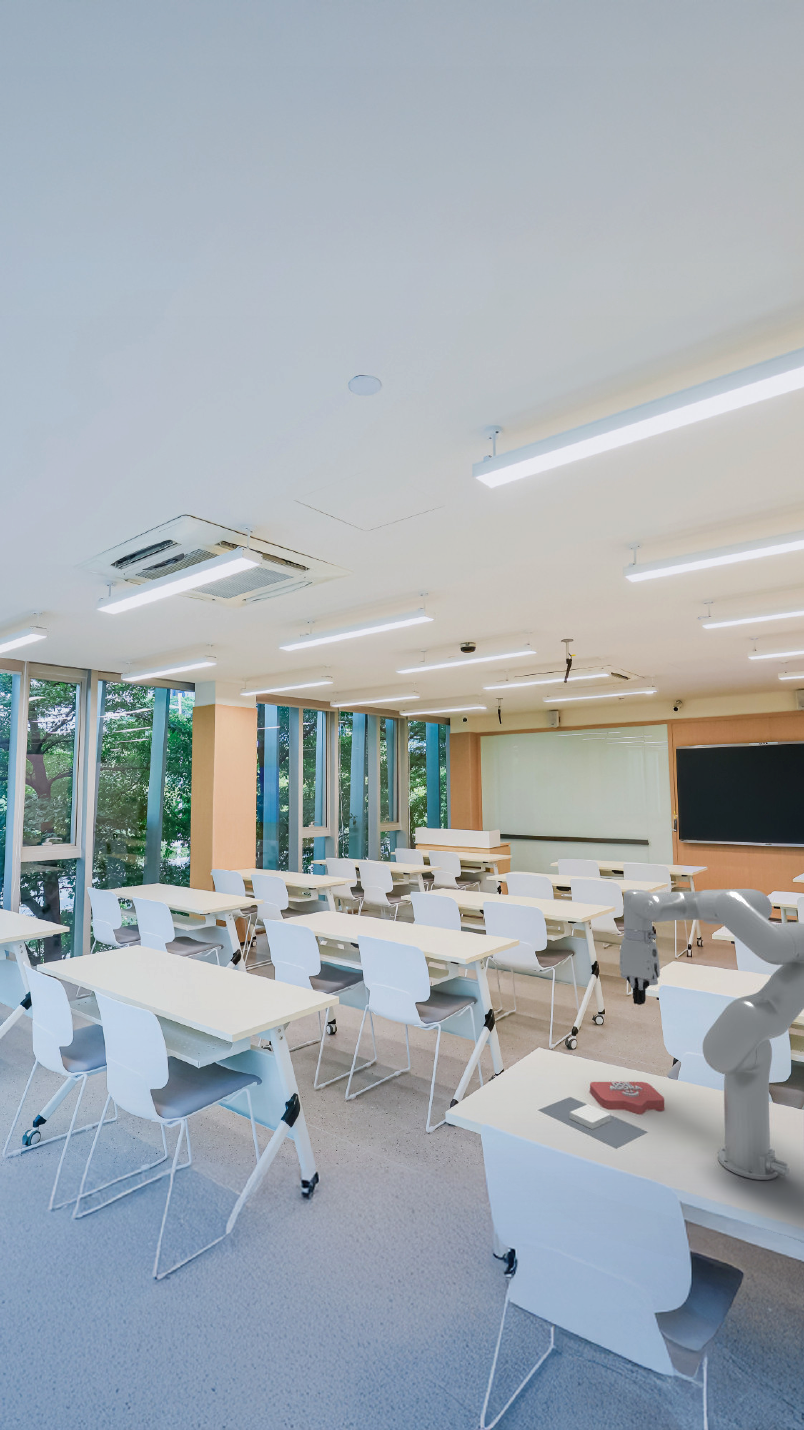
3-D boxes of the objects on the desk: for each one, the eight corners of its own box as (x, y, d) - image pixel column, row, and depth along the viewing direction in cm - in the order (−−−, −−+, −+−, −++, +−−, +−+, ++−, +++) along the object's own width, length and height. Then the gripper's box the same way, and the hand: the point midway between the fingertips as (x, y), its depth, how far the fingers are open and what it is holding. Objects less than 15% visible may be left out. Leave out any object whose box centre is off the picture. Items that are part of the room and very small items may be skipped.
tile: (610, 1114, 176) (588, 1104, 181) (592, 1122, 171) (569, 1112, 176) (610, 1121, 176) (588, 1110, 181) (592, 1129, 171) (569, 1118, 176)
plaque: (608, 1103, 180) (587, 1079, 195) (608, 1118, 179) (587, 1093, 194) (672, 1102, 182) (646, 1079, 196) (672, 1118, 181) (647, 1093, 196)
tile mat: (647, 1134, 171) (647, 1132, 171) (616, 1150, 162) (616, 1148, 162) (570, 1098, 189) (570, 1096, 189) (537, 1111, 181) (538, 1110, 181)
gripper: (670, 938, 185) (671, 1007, 183) (621, 929, 197) (622, 994, 194) (656, 941, 181) (657, 1012, 178) (607, 932, 192) (607, 999, 190)
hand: (639, 1003), depth 186 cm, fingers closed
